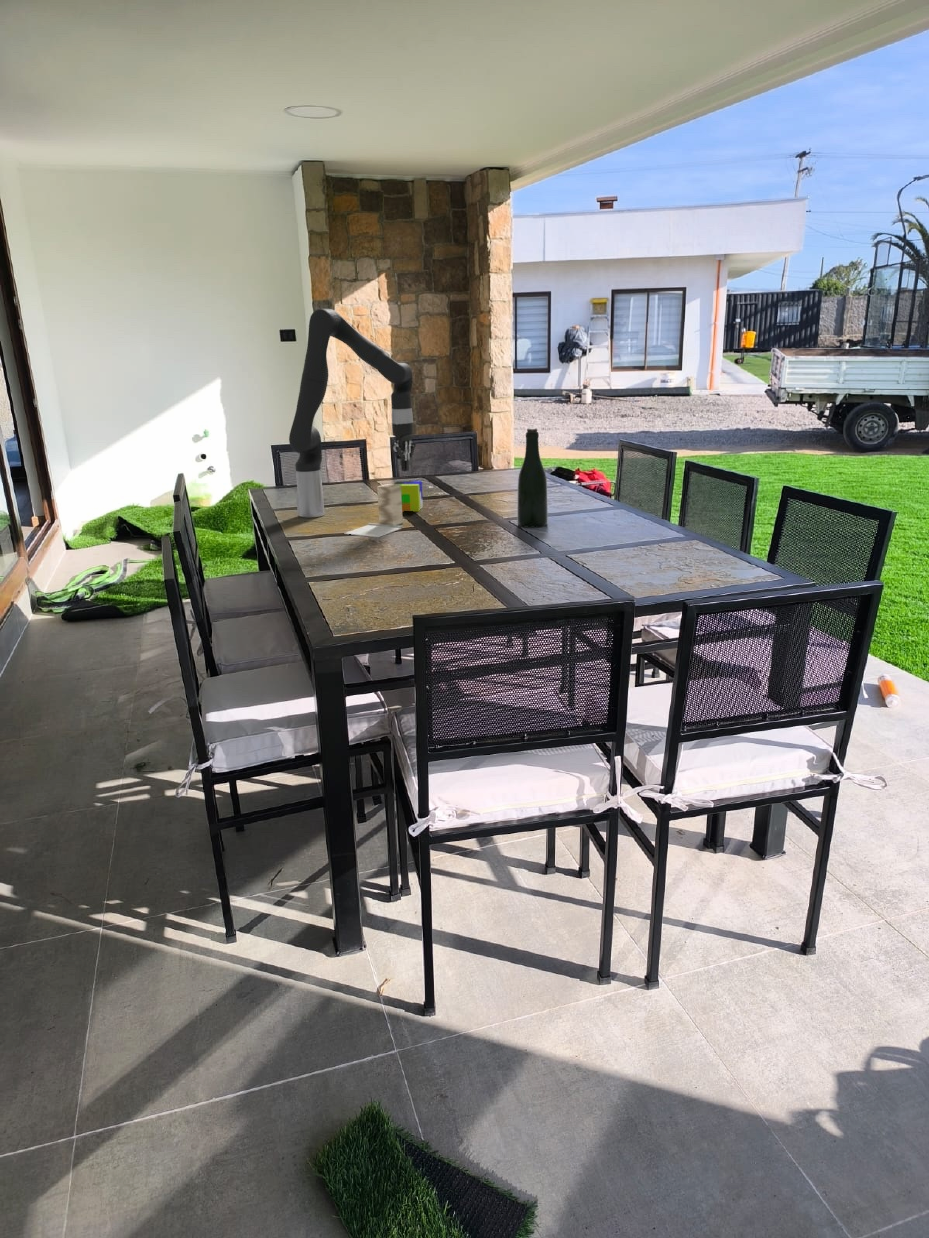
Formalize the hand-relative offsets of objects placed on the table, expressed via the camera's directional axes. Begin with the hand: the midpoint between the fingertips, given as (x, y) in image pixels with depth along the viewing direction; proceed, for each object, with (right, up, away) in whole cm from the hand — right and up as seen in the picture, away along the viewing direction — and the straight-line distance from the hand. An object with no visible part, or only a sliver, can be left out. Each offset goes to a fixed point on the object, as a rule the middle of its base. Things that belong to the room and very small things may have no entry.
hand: (405, 470), depth 302 cm
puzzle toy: (-1, -11, +24) cm, 26 cm away
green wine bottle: (+45, -21, -10) cm, 51 cm away
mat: (-10, -23, -12) cm, 28 cm away
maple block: (-5, -20, -3) cm, 21 cm away
